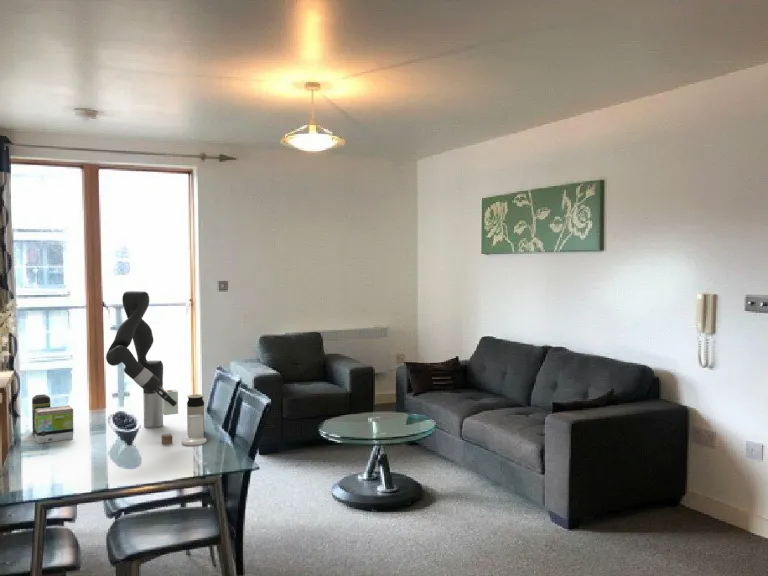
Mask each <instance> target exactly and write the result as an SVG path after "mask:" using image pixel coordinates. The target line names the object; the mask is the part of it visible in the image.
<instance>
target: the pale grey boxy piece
mask: <svg viewBox="0 0 768 576" xmlns="http://www.w3.org/2000/svg"><path fill="white" fill-rule="evenodd" d="M164 390H165V391H166V392H167V394H168V395H169V396H170V397H171V398H172V399H173V400H174V401H175V402H177V404H176V405H175V406H172V405H171V404H170V403H169V402H167V401H165V400H164V399H162V413H163V416H169V415H178V414H179V391H178V390H176V389H167V390H166V389H164ZM167 397H168V396H167V395H166V396H165V397H164V398H165V399H166V398H167Z"/></svg>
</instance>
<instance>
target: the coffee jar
mask: <svg viewBox="0 0 768 576" xmlns="http://www.w3.org/2000/svg"><path fill="white" fill-rule="evenodd" d="M31 400H32V401H31V406H32V407H31V408H32V411H31V412H32V413H31V414H32V416H31V417H32V418H31V419H32V420H31V422H32V433H33V435H35V409H39V408H49V407H52V406H51V397H50V396H49V395H46V394H36V395H35V396H33V397H32V399H31Z"/></svg>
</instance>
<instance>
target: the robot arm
mask: <svg viewBox="0 0 768 576" xmlns="http://www.w3.org/2000/svg"><path fill="white" fill-rule="evenodd" d="M121 300H122V305H123V309H124V312H125V316H126V320H124V321H123V322H122V323H121V324H120V326H119V327H118V328H117V332H116V334H115V337H114V340H113V342H112V343H111V345H110V346H109V348H108V350H107V351H106V354H105V355H106V356H105V359H106V362H107V363H108V365H110V366H112V367H114V366H119V365H120V364H121V363H122V364H123V365H124V368H123V372H124V373H125V375H126V376H128V377H129V378H131V379H132V380H133V381H134V382H135V383H136V384H137V385H138V386H139V387H140V388H141V389H142V390H143V393H142V394H143V397H142V398H143V427H144V428H146V429H153V428H154V429H155V428H160V427H163V426H164V414H163V413H162V399H164V400H165V401H167V402H169V403H170V404H171V405H172V406H175V405H176V404H177V402H175V401H174V400H173V399H172V398H171V397H170V396H169V395H168V394H167V392H166V391H165V390H166V389H164V388H163V387H164V386H163V385H164V381H163V379H164V364H163V361H161V360H148V359H147V354H148V352H149V351H150V349H151V347H152V346H153V344H154V335H153V331H152V328H151V327H150V325H149V324H148V323H147V321H145V320H144V319H143V317H144V315H145V313H146V312H147V309H148V307H149V304H150V296H149V293H148V292H146V291H141V290H140V291H139V290H138V291H137V290H128V291H127V290H126V291H125V292H123V294H122V298H121ZM132 341H133V345H134V347H135V352H136V357H137V359H136V357H135V355H134V354H133V353H132V352H131V350H130V349H129V348H128V347H129V346H130V345H131V343H132ZM166 395H167V396H168V397H167V398H166V399H165V398H164V397H165V396H166Z"/></svg>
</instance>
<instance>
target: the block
mask: <svg viewBox="0 0 768 576" xmlns="http://www.w3.org/2000/svg"><path fill="white" fill-rule="evenodd" d="M161 445H163V446H168V445H173V434H172V433H162V434H161Z"/></svg>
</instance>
